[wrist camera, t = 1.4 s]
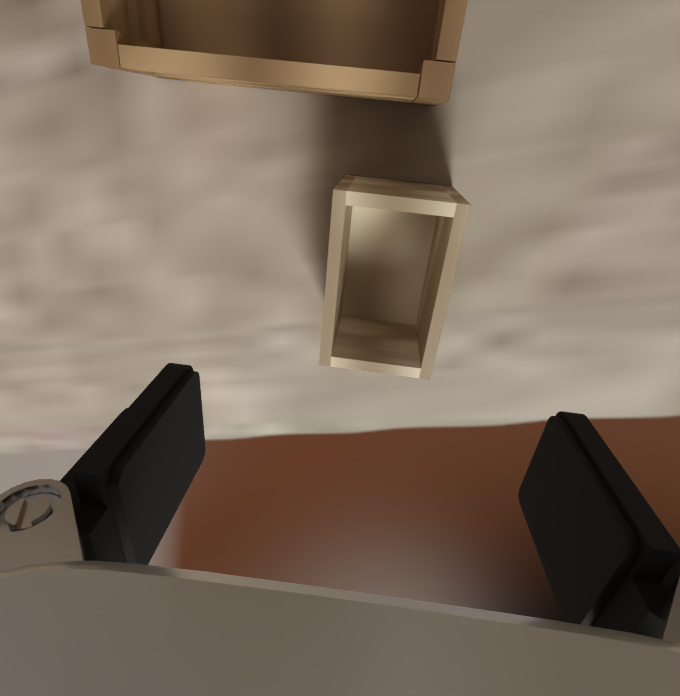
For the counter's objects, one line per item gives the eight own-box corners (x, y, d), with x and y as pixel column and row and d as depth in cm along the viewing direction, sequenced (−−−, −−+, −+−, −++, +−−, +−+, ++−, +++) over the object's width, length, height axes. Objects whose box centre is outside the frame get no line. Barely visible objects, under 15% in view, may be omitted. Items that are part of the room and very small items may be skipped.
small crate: (452, 186, 23) (470, 204, 18) (422, 330, 28) (430, 379, 22) (345, 174, 24) (332, 189, 18) (332, 319, 28) (319, 364, 23)
